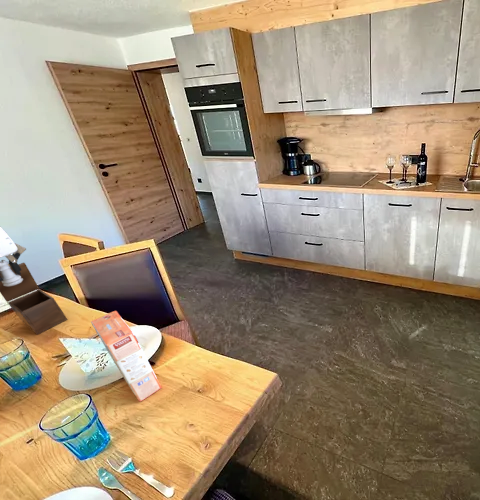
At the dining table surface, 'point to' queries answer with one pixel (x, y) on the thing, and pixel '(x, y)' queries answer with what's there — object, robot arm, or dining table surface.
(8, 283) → the rook chess piece
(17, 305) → the chest
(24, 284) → the lid
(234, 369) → the dining table surface
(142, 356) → the cracker box
